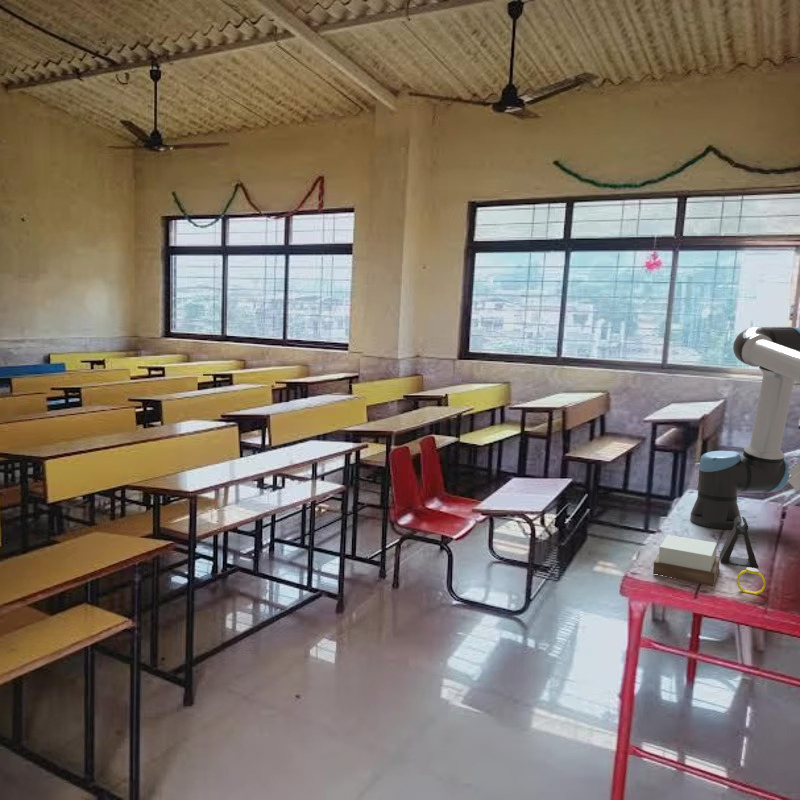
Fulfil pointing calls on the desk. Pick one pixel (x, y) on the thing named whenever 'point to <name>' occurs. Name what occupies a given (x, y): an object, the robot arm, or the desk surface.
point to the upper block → (688, 552)
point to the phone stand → (730, 543)
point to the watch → (752, 571)
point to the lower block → (687, 572)
